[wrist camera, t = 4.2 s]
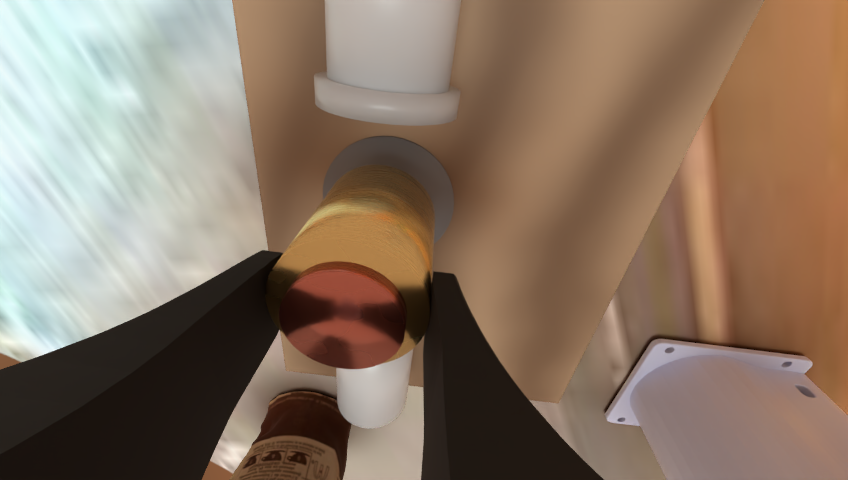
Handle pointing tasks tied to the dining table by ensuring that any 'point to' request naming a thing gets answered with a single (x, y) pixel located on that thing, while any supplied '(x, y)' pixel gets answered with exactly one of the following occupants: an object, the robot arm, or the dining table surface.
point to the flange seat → (405, 159)
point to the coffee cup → (298, 441)
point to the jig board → (512, 152)
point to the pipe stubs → (387, 104)
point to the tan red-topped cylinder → (358, 272)
